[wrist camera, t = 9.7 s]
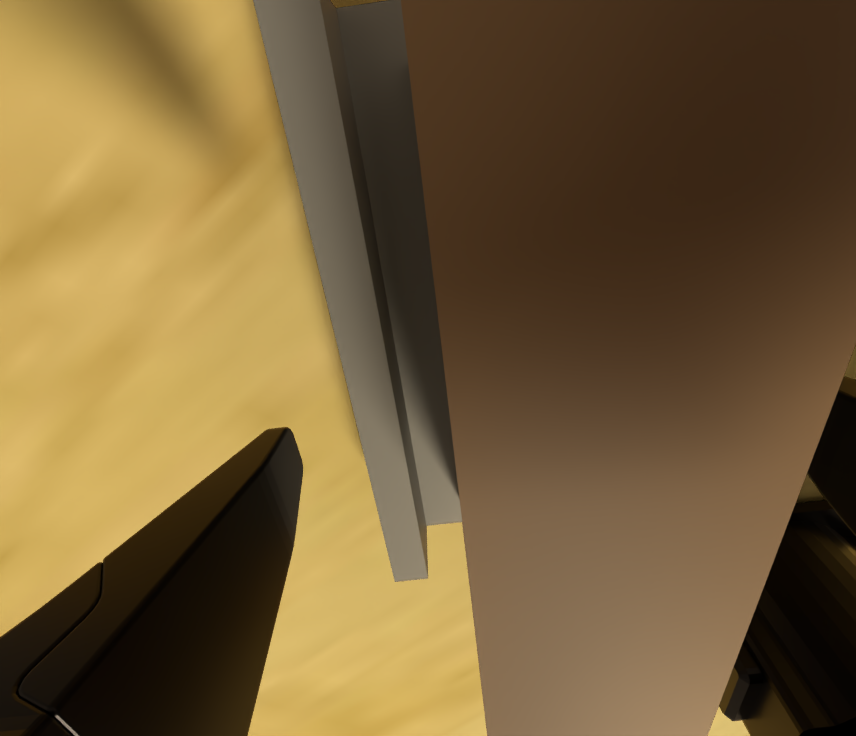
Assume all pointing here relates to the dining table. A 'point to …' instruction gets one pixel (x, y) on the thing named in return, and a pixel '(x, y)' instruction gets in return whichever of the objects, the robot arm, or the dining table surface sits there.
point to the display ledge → (371, 248)
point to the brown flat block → (632, 328)
